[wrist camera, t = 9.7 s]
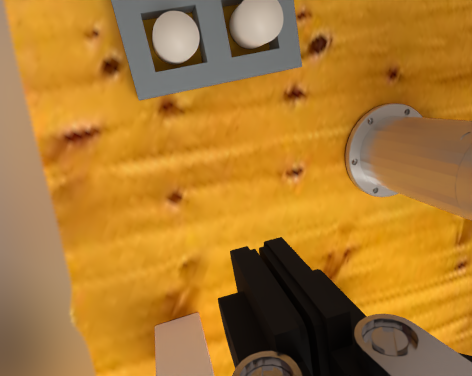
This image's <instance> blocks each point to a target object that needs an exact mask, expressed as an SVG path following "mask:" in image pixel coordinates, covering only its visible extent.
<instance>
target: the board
mask: <svg viewBox="0 0 472 376" xmlns="http://www.w3.org/2000/svg"><path fill="white" fill-rule="evenodd" d="M243 1H244V0H111V2H112V5H113V9H114V12H115V16H116V20H117V23H118V27H119V30H120V34H121V38H122V41H123V45H124V48H125V52H126V56H127V59H128V63H129V66H130V70H131V74H132V77H133V81H134V84H135V88H136V92H137V95H138V99H139V100H144V99H149V98H153V97H158V96H163V95H168V94H173V93H177V92H182V91H187V90H192V89H197V88H202V87H206V86H211V85H216V84H221V83H226V82H231V81H235V80H240V79H245V78H250V77H255V76H259V75H264V74H269V73H274V72H279V71H284V70H288V69H293V68H298V67H302V62H301V54H300V46H299V39H298V31H297V23H296V15H295V8H294V0H277V1H278V2H279V4H280V5H281V8H282V11H283V26H282V29H281V31H280V33H279V34H278V36H277V37H276V38H275V39H273V40H272V41H270V42H269V48H270V50H268V51H263V52H258V53H253V54H248V55H242V56H237V57H232V56H231V51H230V46H229V40H228V35H227V30H226V24H225V19H224V14H223V9H222V7H226V6H232V5H238V4H241V3H242V2H243ZM168 11H180V12H183V13H189V12H192V15H193V20H194V22H195V24H196V25H197V28H198V31H199V37H200V39H199V48H200V52H201V57H202V62H203V63H201V64H196V65H191V66H186V67H180V68H175V69H170V70H165V71H160V72H155V68H154V64H153V60H152V57H151V53H150V49H149V45H148V41H147V37H146V33H145V29H144V25H143V21H142V20H146V19H152V18H159V17H160V16H161V15H162V14H164V13H166V12H168Z"/></svg>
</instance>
